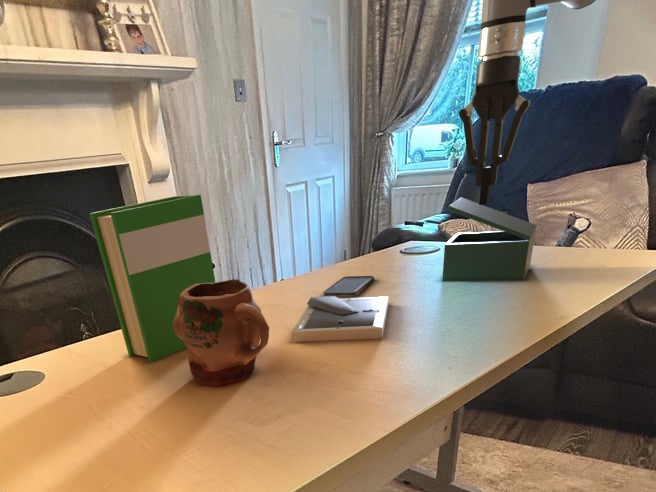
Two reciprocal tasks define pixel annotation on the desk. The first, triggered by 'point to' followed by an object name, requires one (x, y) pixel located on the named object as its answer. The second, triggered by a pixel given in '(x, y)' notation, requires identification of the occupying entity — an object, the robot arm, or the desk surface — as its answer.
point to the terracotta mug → (221, 331)
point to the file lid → (493, 218)
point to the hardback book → (153, 267)
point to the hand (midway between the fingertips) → (483, 203)
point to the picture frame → (342, 319)
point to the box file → (487, 257)
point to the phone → (349, 286)
